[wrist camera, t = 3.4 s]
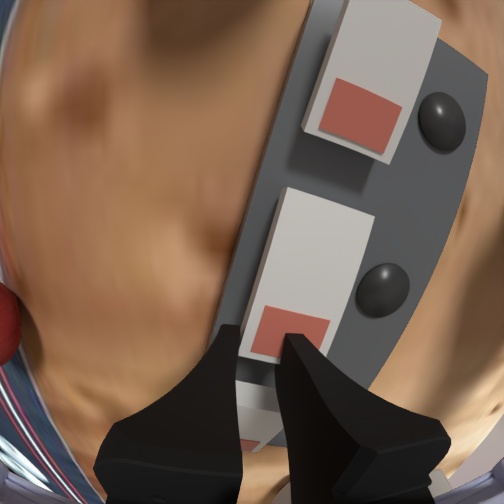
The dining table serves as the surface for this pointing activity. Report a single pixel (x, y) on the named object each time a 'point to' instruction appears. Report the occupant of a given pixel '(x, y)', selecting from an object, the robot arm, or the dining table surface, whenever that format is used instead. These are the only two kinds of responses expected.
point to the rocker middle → (304, 274)
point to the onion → (8, 324)
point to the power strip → (363, 200)
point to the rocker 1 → (257, 415)
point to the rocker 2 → (372, 75)
